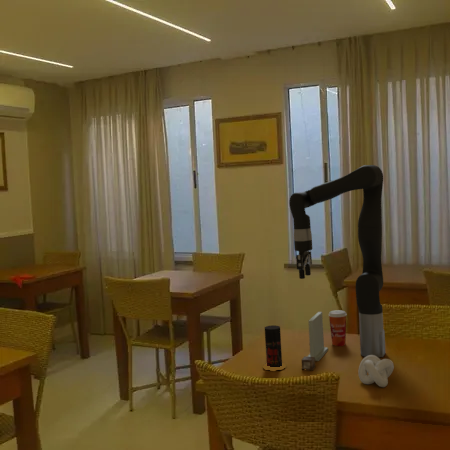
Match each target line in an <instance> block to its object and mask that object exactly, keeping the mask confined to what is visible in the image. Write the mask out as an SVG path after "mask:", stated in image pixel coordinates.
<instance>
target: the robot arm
mask: <svg viewBox="0 0 450 450" xmlns="http://www.w3.org/2000/svg"><path fill="white" fill-rule="evenodd" d="M383 184H384V172H383V170H382V169H381V167H379V166H377V165H374V164H368V165H367V164H364V165H362V166H360V167H358V168H356V169H355V170H353V171H351V172H349V173H348V174H346V175H344V176H341V177H339V178H336V179H334V180H330V181H327V182H324V183H321V184H319V185H315V186H314V187H311V189H308V190H306V191H305V190H304V191H301V192H294V193H292V194H291V195H290V198H289V202H288V203H289V209H290V212H291V216H292V219H293V241H294V242H293V244H294V245H293V246H294V247H293V248H294V251H295V252H298V254H296V256H295V257H296V258H295V259H296V260H295V261H296V269H297V270H298V277H299V279H300V280H304V279H305V278H306V276H311V274H312V273H311V272H312V271H311V266H312V264H313V261H312V251H313V237H312V235H313V234H312V229H311V217H310V215H308V214H307V213H306V209H307V208H310V207H312V206H316V204H317V205H318V204H320V203H323V202H326V201H330V200H332V199H335V198H337V197H338V196H341V195H343V194H345V193H348V192H351V191H357V190H362V192H363V197H362V199H363V201H362V205H361V210H360V213H359V215H358V221H357V240H358V245H359V248H360V251H361V254H362V255H361V256H362V271H361V272H362V273H361V274H360V275H359V276H358V277H357V278H356V281H355V298H356V306H357V309H358V322H359V324H358V325H359V347H360V348H359V350H360V355H361V356H362V357H363V358H365V357H366V356H368V355H375V356H377V357H378V358H384V356H385V355H386V340H385V339H386V337H385V335H386V334H385V333H386V331H385V329H384V316H383V315H384V314H383V312H384V311H383V309H384V308H383V305H382V303H381V299H380V291H381V290H382V289H383V286H384V275H383V274H384V273H383V266H382V265H383V264H382V253H383V252H382V249H383V248H382V247H383V245H382V242H383V223H382V220H383V219H382V213H383V212H382V196H383V195H382V194H383V187H384V185H383Z"/></svg>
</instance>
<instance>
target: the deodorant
mask: <svg viewBox="0 0 450 450" xmlns="http://www.w3.org/2000/svg"><path fill="white" fill-rule="evenodd" d="M281 337H282V335H281V325H275V324H273V325H267V326H264V338H265V343H264V344H265V359H266V361H265V362H266V363H267V366H270V367H280V366H282V363H283V356H282V355H283V353H282V338H281Z"/></svg>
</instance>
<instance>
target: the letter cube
mask: <svg viewBox="0 0 450 450" xmlns="http://www.w3.org/2000/svg"><path fill="white" fill-rule="evenodd" d="M315 368H316V361H315V357H307V356H303V358H302V359H301V370H302V369H306V370H305V371H310V370H312V371H314V369H315Z"/></svg>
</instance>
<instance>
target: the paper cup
mask: <svg viewBox="0 0 450 450" xmlns="http://www.w3.org/2000/svg"><path fill="white" fill-rule="evenodd" d="M347 315H348V314H347V312H346V311H345V310H341V309H340V310H339V309H337V310H331V311H329V313H328V315H327V316H328V318H329V319H328V320H329V327H330V329H329V330H330V337H331V344H332V345H333V346H334V345H335V347H343V346H345V345H346V339H347V337H346V336H347V332H346V331H347V329H346V327H347Z"/></svg>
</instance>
